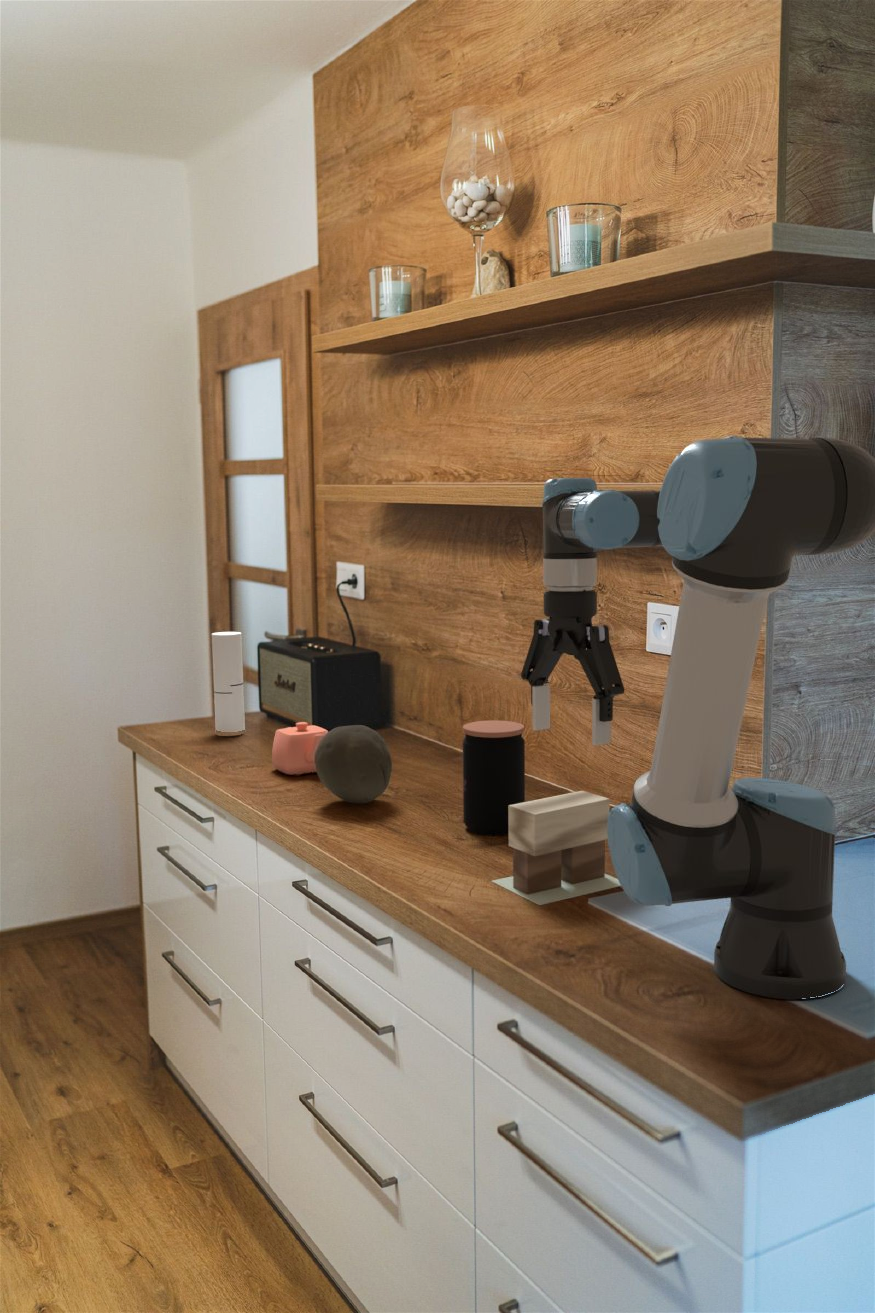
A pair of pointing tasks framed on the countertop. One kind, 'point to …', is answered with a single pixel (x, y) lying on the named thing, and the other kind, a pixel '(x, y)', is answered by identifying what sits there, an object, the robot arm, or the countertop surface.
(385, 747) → the dark grey ball
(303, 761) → the teapot
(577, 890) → the board
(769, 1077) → the countertop surface
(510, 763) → the coffee jar
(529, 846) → the lintel
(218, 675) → the cylindrical container
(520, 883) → the post
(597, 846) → the post
